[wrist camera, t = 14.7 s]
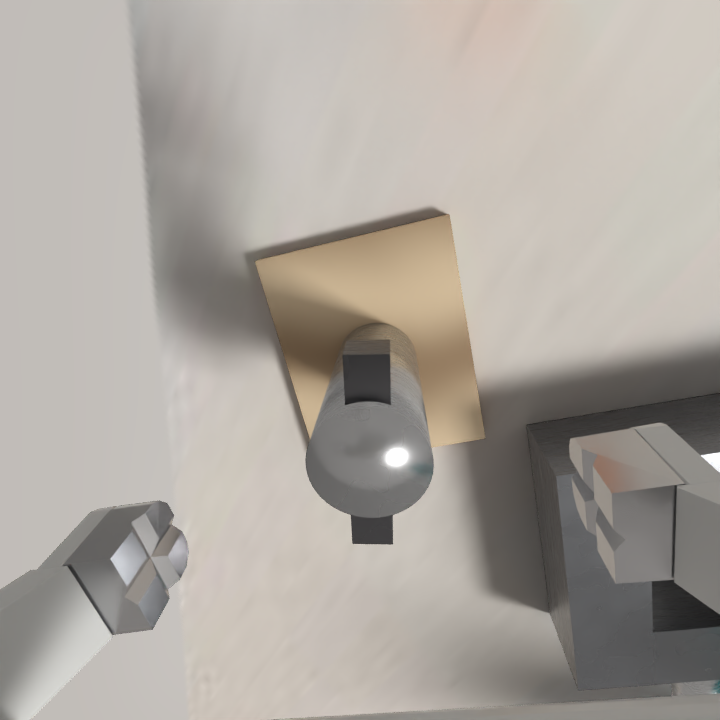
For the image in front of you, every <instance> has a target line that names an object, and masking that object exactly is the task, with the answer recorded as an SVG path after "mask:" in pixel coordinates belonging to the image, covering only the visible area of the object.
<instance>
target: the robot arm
mask: <svg viewBox="0 0 720 720" xmlns="http://www.w3.org/2000/svg"><path fill="white" fill-rule="evenodd" d="M569 453H570V459H571V461H572V462H573V464H574V466H575V467H576V469H577V471H576V472H575V474H574V475H573V476H572V487H573V494H574V498H575V502H576V507H577V510H578V512H579V515H580V517H581V520H582V522H583V524H584V526H585V528H586V530H587V531H589V532H590V533H592V534H594V535H595V536H597V547H598V552H599V554H600V556H601V558H602V560H603V561H604V563H605V565H606V567H607V569H608V571H609V572H610V574H611V576H612V578H613V580H614V582H615V584H620V583H634V582H648V581H662V580H674V583H676V584H677V585H679V586H680V587H681V588H683V589H684V590H686V591H687V592H689V593H690V594H691V595H693V596H694V597H696V598H697V599H698V600H700V601H701V602H703V603H704V604H705V605H707V606H708V607H710V608H711V609H713V610H714V611H715V612H717V613H718V614H720V473H719V472H718V471H717V470H716V469H715V468H714V467H713V466H712V465H710V464H709V463H708V462H707V461H706V460H705V459H704V458H703V457H702V456H701V455H700V454H698V453H697V452H696V451H695V450H694V449H693V448H692V447H691V446H690V445H689V444H687V443H686V442H685V441H684V440H683V439H682V438H681V437H680V436H679V435H678V434H676V433H675V432H674V431H673V430H672V429H671V428H670V427H669V426H668V425H666V424H663V423H660V422H659V423H654V424H648V425H643V426H637V427H632V428H629V429H625V430H619V431H612V432H606V433H600V434H594V435H588V436H582V437H576V438H570V443H569ZM173 518H174V514H173V513H172V511H171V509H170V507H169V505H168V504H167V503H165V502H162V501H152V502H144V503H137V504H129V505H121V506H118V507H117V506H114V507H107V508H101V509H97V510H95V511H92V512H90V513H89V514H88V515H87V516H86V517H85V518H84V520H83V521H82V522H81V523H80V524H79V525H78V526H77V527H76V528H75V529H74V530H73V531H72V532H71V534H70V535H69V536H68V537H67V538H66V539H65V540H64V541H63V542H62V543H61V544H60V545H59V546H58V547H57V548H56V550H55V551H54V552H53V553H52V554H51V555H50V556H49V557H48V558H47V559H46V560H45V561H44V562H43V564H42V565H41V566H40V567H39V568H38V569H37V570H30V571H29V572H27V573H25V574H24V575H22V576H21V577H19V578H18V579H16V580H14V581H13V582H11V583H10V584H8V585H7V586H5V587H3V588H2V589H0V720H31V719H32V718H33V717H34V716H35V715H36V714H37V713H38V712H39V711H40V710H41V709H42V708H43V707H44V706H45V705H46V704H47V703H48V702H49V701H50V700H51V699H52V698H53V697H54V696H55V695H56V694H57V693H58V692H59V691H60V690H61V689H62V688H63V687H64V686H65V685H66V684H67V683H68V682H69V681H70V680H71V679H72V678H73V677H74V676H75V675H76V674H77V673H78V672H79V671H80V670H81V669H82V668H83V667H84V666H85V665H86V664H87V663H88V662H89V661H90V660H91V659H92V658H93V657H94V656H95V654H97V653H98V652H99V651H100V650H101V649H102V648H103V647H104V646H105V645H106V644H107V643H108V642H109V641H110V640H111V639H112V638H113V635H115V634H122V633H131V632H138V631H146V630H152V629H153V628H154V626H155V624H156V622H157V621H158V619H159V617H160V615H161V613H162V611H163V610H164V608H165V606H166V604H167V602H168V600H169V593H168V589H169V588H170V587H172V586H173V585H174V584H175V583H176V582H177V581H178V580H180V578H181V576H182V574H183V572H184V570H185V568H186V566H187V560H188V553H189V551H188V545H187V541H186V538H185V536H184V534H183V532H182V531H180V530H179V529H178V528H176V527H175V526H173V525H172V521H173ZM273 720H720V693H716V694H699V695H682V696H664V697H647V698H630V699H612V700H595V701H578V702H561V703H544V704H527V705H511V706H494V707H477V708H460V709H444V710H427V711H410V712H393V713H377V714H360V715H342V716H325V717H308V718H290V719H273Z"/></svg>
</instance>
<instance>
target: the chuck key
mask: <svg viewBox="0 0 720 720" xmlns="http://www.w3.org/2000/svg"><path fill="white" fill-rule="evenodd" d="M433 467H434V464H433V455H432V448H431V442H430V436H429V430H428V424H427V418H426V412H425V406H424V400H423V393H422V387H421V381H420V375H419V369H418V363H417V357H416V351H415V348H414V345H413V344H412V342H411V340H410V339H409V337H408V336H407V335H406V334H405V333H404V332H403V331H401V330H400V329H398V328H397V327H394V326H392V325H389V324H385V323H369V324H365V325H362V326H360V327H358V328H356V329H355V330H353V331H352V332H351V333H350V334H348V336H347V337H346V338H345V339H344V341H343V343H342V345H341V347H340V350H339V353H338V356H337V359H336V362H335V366H334V369H333V372H332V375H331V378H330V381H329V384H328V387H327V390H326V393H325V396H324V399H323V402H322V405H321V408H320V411H319V414H318V417H317V421H316V424H315V427H314V430H313V433H312V436H311V439H310V442H309V445H308V448H307V452H306V470H307V474H308V477H309V480H310V482H311V484H312V486H313V488H314V489H315V491H316V492H317V493H318V494H319V495H320V497H321V498H322V499H323V500H325V501H326V502H327V503H328V504H330V505H331V506H332V507H334V508H336V509H338V510H340V511H342V512H344V513H347V514H350V515H351V524H352V542H353V544H393V515H394V514H396V513H399V512H401V511H403V510H405V509H407V508H409V507H410V506H412V505H413V504H414V503H416V502H417V501H418V500H419V499H420V498H421V497H422V495H423V494H424V493H425V491H426V490H427V488H428V486H429V484H430V482H431V479H432V475H433Z"/></svg>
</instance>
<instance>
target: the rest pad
mask: <svg viewBox="0 0 720 720" xmlns="http://www.w3.org/2000/svg"><path fill="white" fill-rule="evenodd" d="M255 264H256V267H257V270H258V273H259V277H260V280H261V283H262V286H263V290H264V293H265V296H266V299H267V302H268V306H269V309H270V312H271V315H272V319H273V322H274V325H275V328H276V331H277V335H278V338H279V341H280V344H281V347H282V351H283V354H284V357H285V360H286V364H287V367H288V370H289V373H290V376H291V380H292V383H293V386H294V389H295V393H296V396H297V399H298V402H299V405H300V409H301V412H302V415H303V418H304V422H305V425H306V428H307V431H308V434H309V438H310V439H311V436H312V433H313V430H314V427H315V424H316V421H317V417H318V414H319V411H320V408H321V405H322V402H323V399H324V396H325V393H326V390H327V387H328V384H329V381H330V378H331V375H332V372H333V369H334V366H335V362H336V359H337V356H338V353H339V350H340V347H341V345H342V343H343V341H344V339H345V338H346V337H347V336H348V334H350V333H351V332H352V331H353V330H355V329H356V328H358V327H360V326H362V325H365V324H369V323H385V324H389V325H392V326H394V327H397V328H398V329H400V330H401V331H403V332H404V333H405V334H406V335H407V336H408V337H409V339H410V340H411V342H412V344H413V345H414V348H415V351H416V357H417V363H418V369H419V375H420V381H421V387H422V393H423V400H424V406H425V412H426V418H427V424H428V430H429V436H430V442H431V447H437V446H444V445H450V444H456V443H462V442H468V441H474V440H481V439H485V433H484V427H483V420H482V414H481V408H480V402H479V395H478V389H477V383H476V377H475V371H474V364H473V358H472V352H471V346H470V339H469V333H468V327H467V321H466V314H465V308H464V302H463V296H462V290H461V283H460V277H459V271H458V265H457V258H456V252H455V246H454V240H453V233H452V227H451V221H450V215H449V214H446V215H442V216H438V217H434V218H430V219H425V220H421V221H417V222H413V223H409V224H405V225H400V226H396V227H392V228H388V229H384V230H380V231H375V232H371V233H367V234H363V235H359V236H355V237H350V238H346V239H342V240H338V241H334V242H330V243H326V244H321V245H317V246H313V247H309V248H305V249H301V250H296V251H292V252H288V253H284V254H280V255H276V256H271V257H267V258H263V259H259V260H257V261H255Z"/></svg>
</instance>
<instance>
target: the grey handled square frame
mask: <svg viewBox="0 0 720 720" xmlns="http://www.w3.org/2000/svg"><path fill="white" fill-rule="evenodd" d="M659 422H660V423H663V424H666V425H668V426H669V427H670V428H671V429H672V430H673V431H674V432H675V433H676V434H678V435H679V436H680V437H681V438H682V439H683V440H684V441H685V442H686V443H687V444H689V445H690V446H691V447H692V448H693V449H694V450H695V451H696V452H697V453H698V454H700V455H701V456H702V457H703V458H704V459H705V460H706V461H707V462H708V463H709V464H710V465H712V466H713V467H714V468H715V469H716V470H717V471H718V472H719V473H720V393H718V394H712V395H706V396H700V397H694V398H688V399H682V400H676V401H670V402H663V403H657V404H651V405H645V406H639V407H633V408H627V409H621V410H615V411H609V412H603V413H596V414H590V415H584V416H578V417H572V418H566V419H560V420H554V421H548V422H542V423H536V424H530V425H527V432H528V440H529V448H530V456H531V464H532V472H533V480H534V488H535V496H536V504H537V512H538V520H539V528H540V537H541V545H542V553H543V561H544V569H545V577H546V585H547V593H548V601H549V609H550V615H551V618H552V621H553V623H554V626H555V629H556V632H557V634H558V637H559V640H560V642H561V645H562V648H563V650H564V653H565V656H566V659H567V661H568V664H569V667H570V669H571V672H572V675H573V677H574V680H575V683H576V686H577V688H578V690H591V689H604V688H617V687H631V686H644V685H657V684H670V683H672V696H682V695H699V694H716V693H720V614H718V613H717V612H715V611H714V610H713V609H711V608H710V607H708V606H707V605H705V604H704V603H703V602H701V601H700V600H698V599H697V598H696V597H694V596H693V595H691V594H690V593H689V592H687V591H686V590H684V589H683V588H681V587H680V586H679V585H677V584H676V583H674V580H662V581H648V582H634V583H620V584H615V582H614V580H613V578H612V576H611V574H610V572H609V571H608V569H607V567H606V565H605V563H604V561H603V560H602V558H601V556H600V554H599V552H598V547H597V536H595V535H594V534H592V533H590V532H589V531H587V530H586V528H585V526H584V524H583V522H582V520H581V517H580V515H579V512H578V510H577V507H576V502H575V498H574V494H573V487H572V476H573V475H574V474H575V472H576V471H577V469H576V467H575V466H574V464H573V462H572V461H571V459H570V453H569V443H570V438H576V437H582V436H588V435H594V434H600V433H606V432H612V431H619V430H625V429H629V428H632V427H637V426H643V425H648V424H654V423H659Z"/></svg>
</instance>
